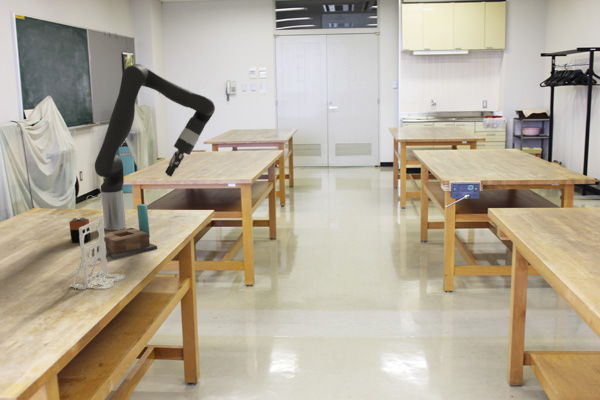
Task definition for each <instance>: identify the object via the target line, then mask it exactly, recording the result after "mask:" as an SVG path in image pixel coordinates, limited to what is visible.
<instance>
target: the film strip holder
mask: <svg viewBox="0 0 600 400" xmlns="http://www.w3.org/2000/svg"><path fill="white" fill-rule="evenodd" d="M96 224H97V226H96ZM92 226H93V227H94V228H92ZM88 227H89V230H90V231H88V232H87V228H88ZM84 229H85V233H83V232H82V230H84ZM96 230H97V232H98V238H97V239H98V240H97V241H96V242H94V243H92V244H90V245H89V246H86V245H85V243H84V237H85V235H86V234H88V233H90V234H91V233H92V232H95V231H96ZM79 233H80V236H79V238H80V243H79V245H80V251H81V252H80V253H81V255H80V261H79V264H78V268H77V270H76V273H75V275H74V278H73V281H72V283H71V284H70V285H69V288H70V287H74V288H75V289H74V288H73V289H74V290H87V289H86V288H94V289H93V290H107V288H109V289H112V288H113V287H114V286H115V282H119V281H121V280H125V278H126V276H125V274H118V273H108V272H109V265H108V259H107V256H106V244H105V242H104V238H105V234H104V233H105V227H104V223H103V218H97V219H95V220H94V221H91V222H89V224H87V225H85V226H82V227H80V228H79ZM98 246H99V252H97V247H98ZM93 249H94V250H93ZM92 250H93V251H94V252H93V253H94V255H93V253H92ZM87 253H88V259H87ZM98 260H100V262H101V265H100V270H98V271H95V267H96V265H97V262H98ZM91 264H93V265H92V268H91V270H90V272H88V269H89V267H88V266H89V265H91ZM81 267H82V270H83V273H82V274H83V283H84V284H82V283H81V284H79V283H77V284H76V281H77V278H78V275H79V273H80V270H81ZM94 271H95V272H94ZM93 277H94V279H92V278H93ZM105 277H106V278H105ZM111 277H112V278H111ZM91 284H94V286H93V285H91ZM98 284H99V285H98ZM89 286H91V287H89ZM92 286H93V287H92ZM111 286H112V287H111ZM76 288H78V289H76Z"/></svg>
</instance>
